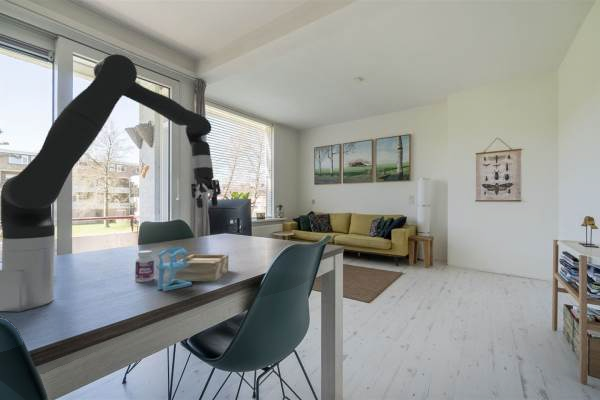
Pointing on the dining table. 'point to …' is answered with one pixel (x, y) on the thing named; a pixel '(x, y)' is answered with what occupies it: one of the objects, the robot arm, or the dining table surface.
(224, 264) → the birch block
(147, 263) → the pill bottle
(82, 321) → the dining table surface
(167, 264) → the chair
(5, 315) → the dining table surface
